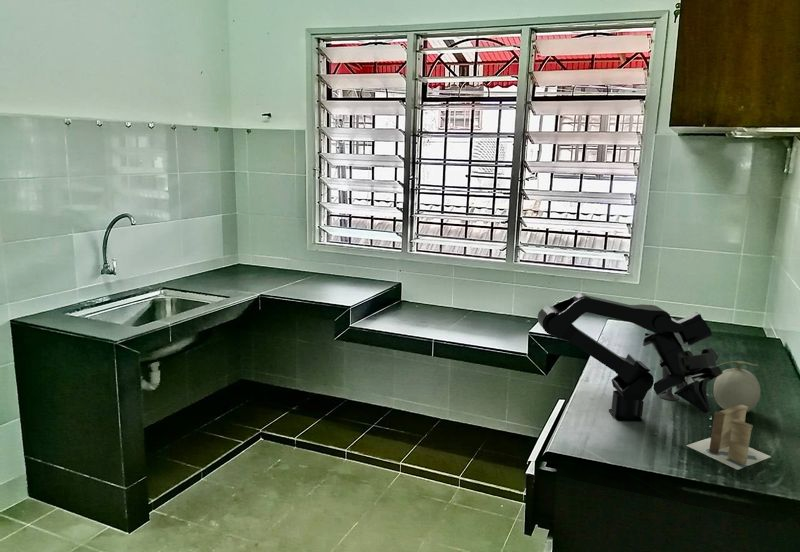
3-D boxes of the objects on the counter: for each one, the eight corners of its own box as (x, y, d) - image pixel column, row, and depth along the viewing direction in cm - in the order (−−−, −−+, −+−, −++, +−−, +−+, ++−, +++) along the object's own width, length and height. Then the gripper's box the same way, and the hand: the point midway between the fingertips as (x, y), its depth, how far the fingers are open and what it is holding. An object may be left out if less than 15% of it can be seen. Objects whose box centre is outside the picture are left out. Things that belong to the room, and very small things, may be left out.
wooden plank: (707, 451, 134) (712, 412, 132) (712, 449, 134) (717, 411, 133) (742, 467, 127) (748, 426, 125) (747, 465, 128) (753, 425, 126)
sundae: (683, 396, 166) (690, 344, 163) (679, 404, 160) (686, 350, 158) (658, 390, 169) (664, 339, 167) (653, 398, 164) (659, 345, 161)
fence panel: (720, 450, 133) (725, 413, 131) (714, 447, 134) (719, 411, 133) (742, 442, 137) (748, 406, 136) (736, 439, 138) (742, 404, 137)
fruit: (712, 399, 165) (719, 347, 162) (760, 411, 157) (768, 356, 155) (702, 410, 157) (710, 355, 154) (752, 423, 149) (761, 366, 147)
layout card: (686, 446, 136) (686, 445, 136) (719, 435, 142) (719, 434, 142) (737, 470, 126) (737, 469, 126) (771, 457, 132) (771, 456, 132)
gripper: (670, 342, 135) (709, 406, 128) (720, 332, 145) (759, 391, 137) (637, 364, 144) (672, 425, 136) (686, 354, 153) (722, 411, 146)
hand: (708, 413), depth 139 cm, fingers closed
